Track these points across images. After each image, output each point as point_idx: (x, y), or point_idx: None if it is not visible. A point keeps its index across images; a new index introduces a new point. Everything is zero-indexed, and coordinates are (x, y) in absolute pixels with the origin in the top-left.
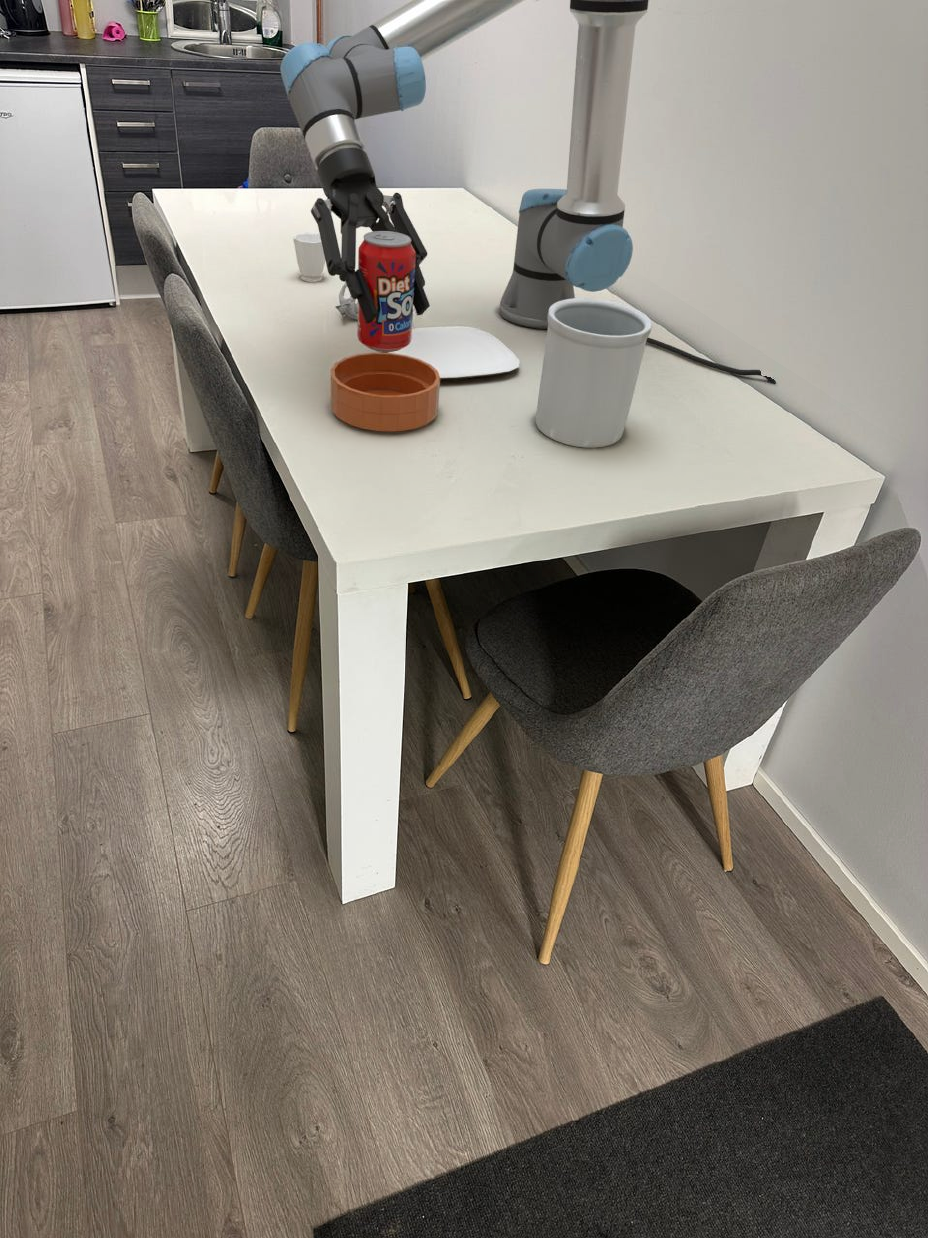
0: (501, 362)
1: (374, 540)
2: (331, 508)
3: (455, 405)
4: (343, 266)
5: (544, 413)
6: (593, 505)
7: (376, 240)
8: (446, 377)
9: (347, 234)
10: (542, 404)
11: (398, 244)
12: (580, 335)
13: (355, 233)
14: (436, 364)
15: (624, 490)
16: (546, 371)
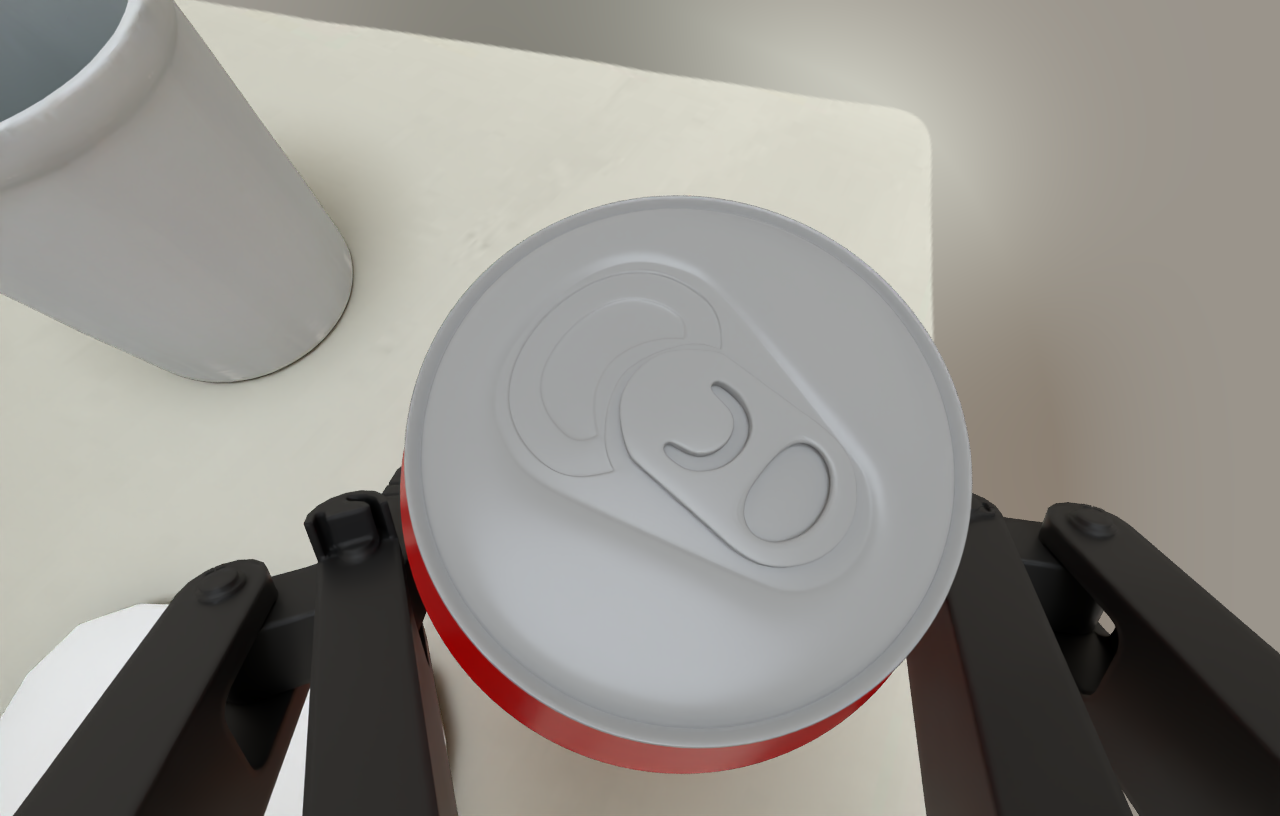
0: (106, 672)
1: (866, 132)
2: (904, 227)
3: None
4: (1014, 536)
5: (327, 266)
6: (475, 75)
7: (861, 364)
8: None
9: (1117, 796)
10: (313, 269)
11: (679, 211)
12: None
13: (1003, 797)
14: (302, 784)
15: (386, 85)
16: (256, 209)
